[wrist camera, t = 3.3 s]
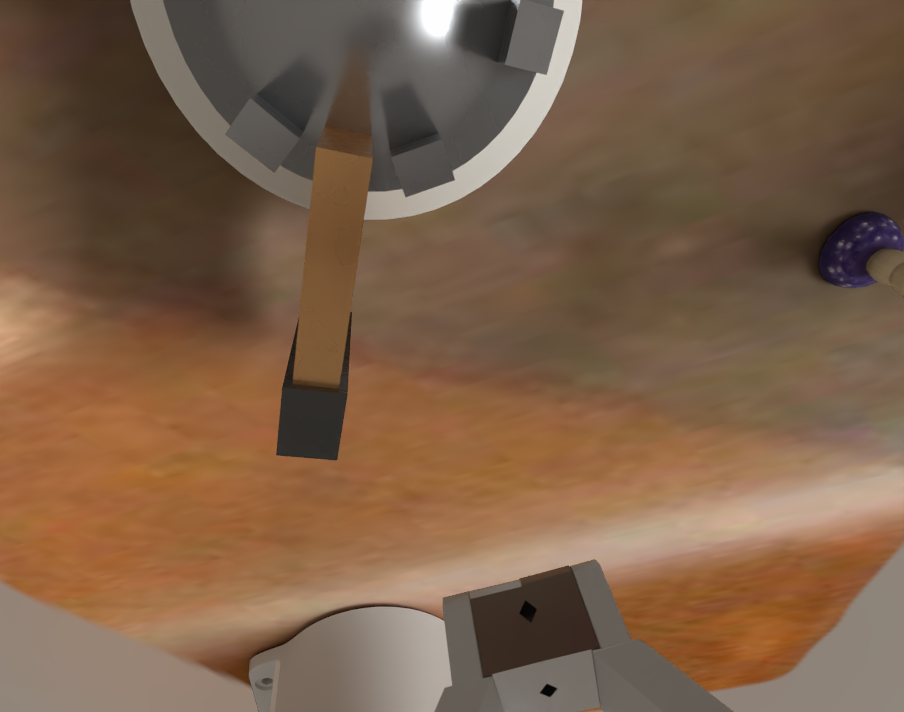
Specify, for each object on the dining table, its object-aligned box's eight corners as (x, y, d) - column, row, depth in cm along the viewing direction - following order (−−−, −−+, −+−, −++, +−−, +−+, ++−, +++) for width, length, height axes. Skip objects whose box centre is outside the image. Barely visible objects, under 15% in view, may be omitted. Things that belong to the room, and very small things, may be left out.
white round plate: (503, 227, 28) (517, 249, 26) (156, 164, 25) (130, 182, 22) (616, -193, 21) (654, -226, 18) (140, -369, 17) (98, -442, 15)
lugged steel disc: (182, -303, 16) (68, -504, 10) (576, -166, 19) (677, -256, 12) (186, 344, 26) (130, 442, 20) (442, 374, 28) (462, 470, 22)
